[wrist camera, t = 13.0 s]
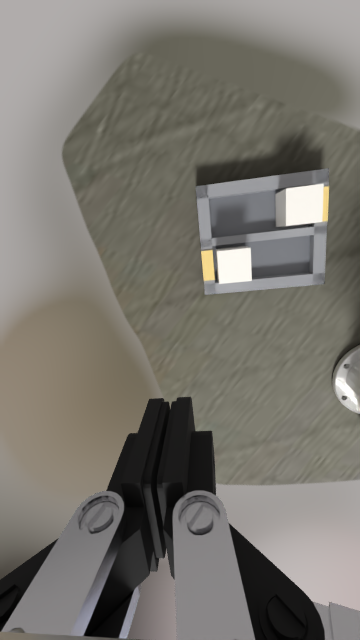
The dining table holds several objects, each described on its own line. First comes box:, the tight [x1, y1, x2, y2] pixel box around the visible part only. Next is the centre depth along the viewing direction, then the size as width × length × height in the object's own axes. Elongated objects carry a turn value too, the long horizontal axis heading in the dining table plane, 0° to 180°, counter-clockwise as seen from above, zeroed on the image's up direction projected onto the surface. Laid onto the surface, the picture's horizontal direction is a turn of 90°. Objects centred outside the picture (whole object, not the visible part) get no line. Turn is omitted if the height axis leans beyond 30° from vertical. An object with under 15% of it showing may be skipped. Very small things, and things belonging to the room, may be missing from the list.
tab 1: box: [216, 246, 252, 284], centre depth 36 cm, size 4×4×5 cm
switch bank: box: [196, 168, 329, 295], centre depth 37 cm, size 14×16×3 cm
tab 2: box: [275, 184, 324, 227], centre depth 34 cm, size 4×4×5 cm
